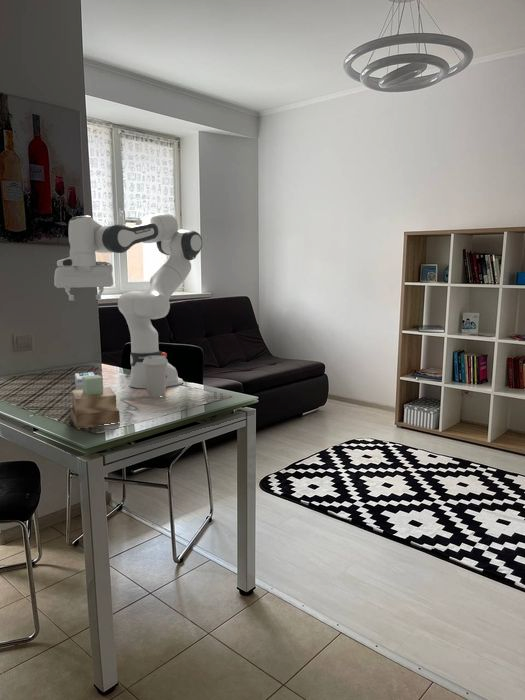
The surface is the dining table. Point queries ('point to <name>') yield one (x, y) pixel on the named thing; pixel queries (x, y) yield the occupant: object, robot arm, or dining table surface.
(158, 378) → the coffee cup
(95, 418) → the walnut base block
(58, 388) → the dining table surface
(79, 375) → the light bulb box
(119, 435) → the dining table surface
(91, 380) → the sage block
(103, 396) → the oak top block
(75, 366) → the dining table surface
